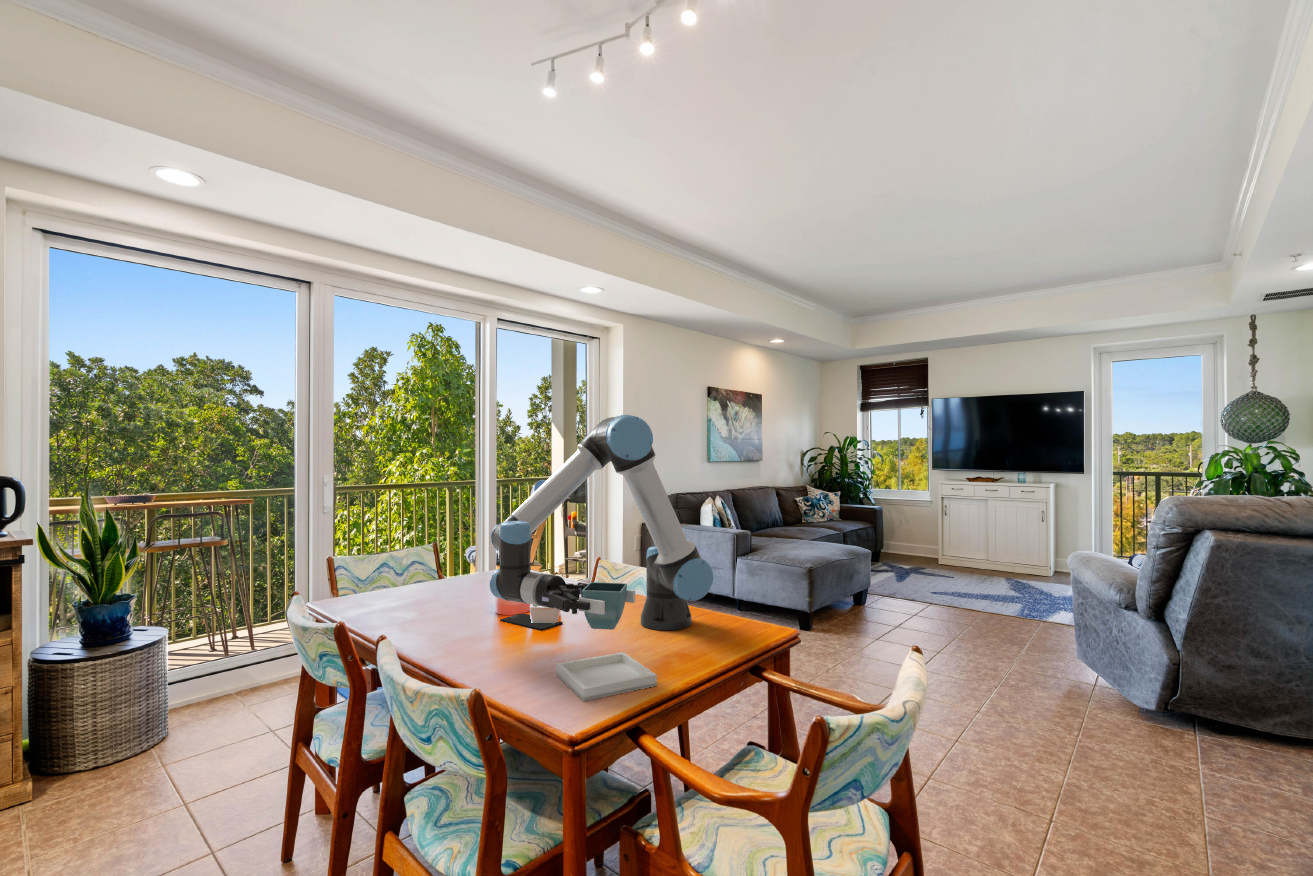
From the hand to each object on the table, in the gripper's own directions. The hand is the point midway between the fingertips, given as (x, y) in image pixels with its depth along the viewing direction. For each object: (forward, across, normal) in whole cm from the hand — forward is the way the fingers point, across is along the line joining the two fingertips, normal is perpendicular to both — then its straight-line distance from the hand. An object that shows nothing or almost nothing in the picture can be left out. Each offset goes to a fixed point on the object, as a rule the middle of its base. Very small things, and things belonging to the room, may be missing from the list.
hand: (619, 602), depth 134 cm
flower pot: (-4, 0, -6) cm, 7 cm away
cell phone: (-50, -26, -18) cm, 59 cm away
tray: (-4, 0, -18) cm, 18 cm away
